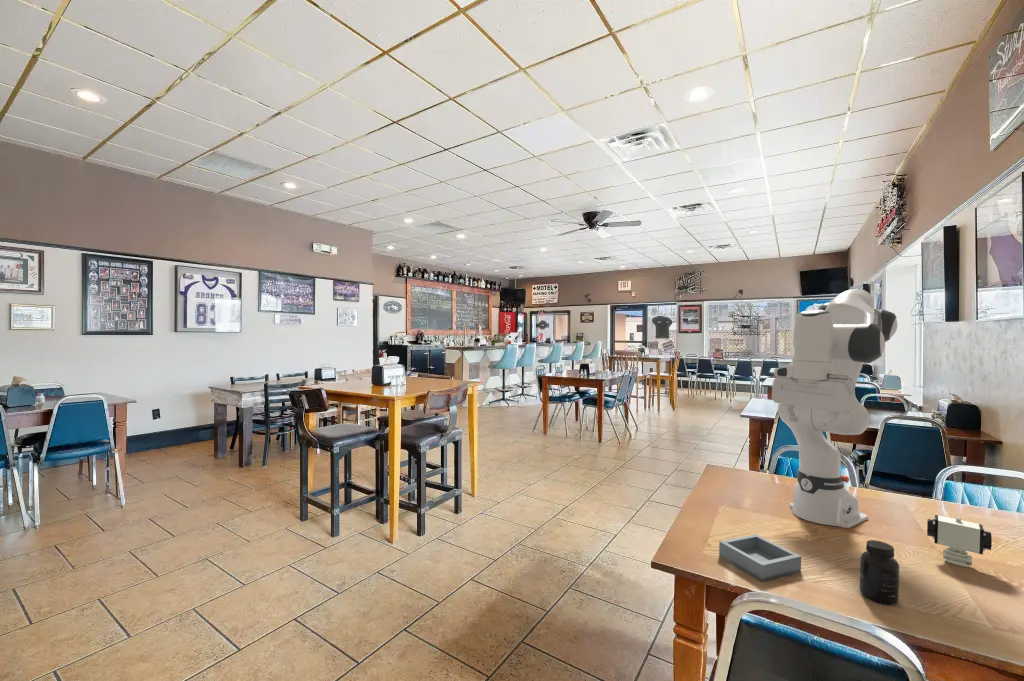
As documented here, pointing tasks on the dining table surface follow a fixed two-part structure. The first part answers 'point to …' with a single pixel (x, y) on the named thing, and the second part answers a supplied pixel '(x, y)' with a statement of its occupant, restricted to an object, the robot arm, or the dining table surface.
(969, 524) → the pneumatic valve
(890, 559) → the supplement bottle
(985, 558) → the dining table surface
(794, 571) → the tray
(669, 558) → the dining table surface
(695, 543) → the dining table surface
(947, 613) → the dining table surface
